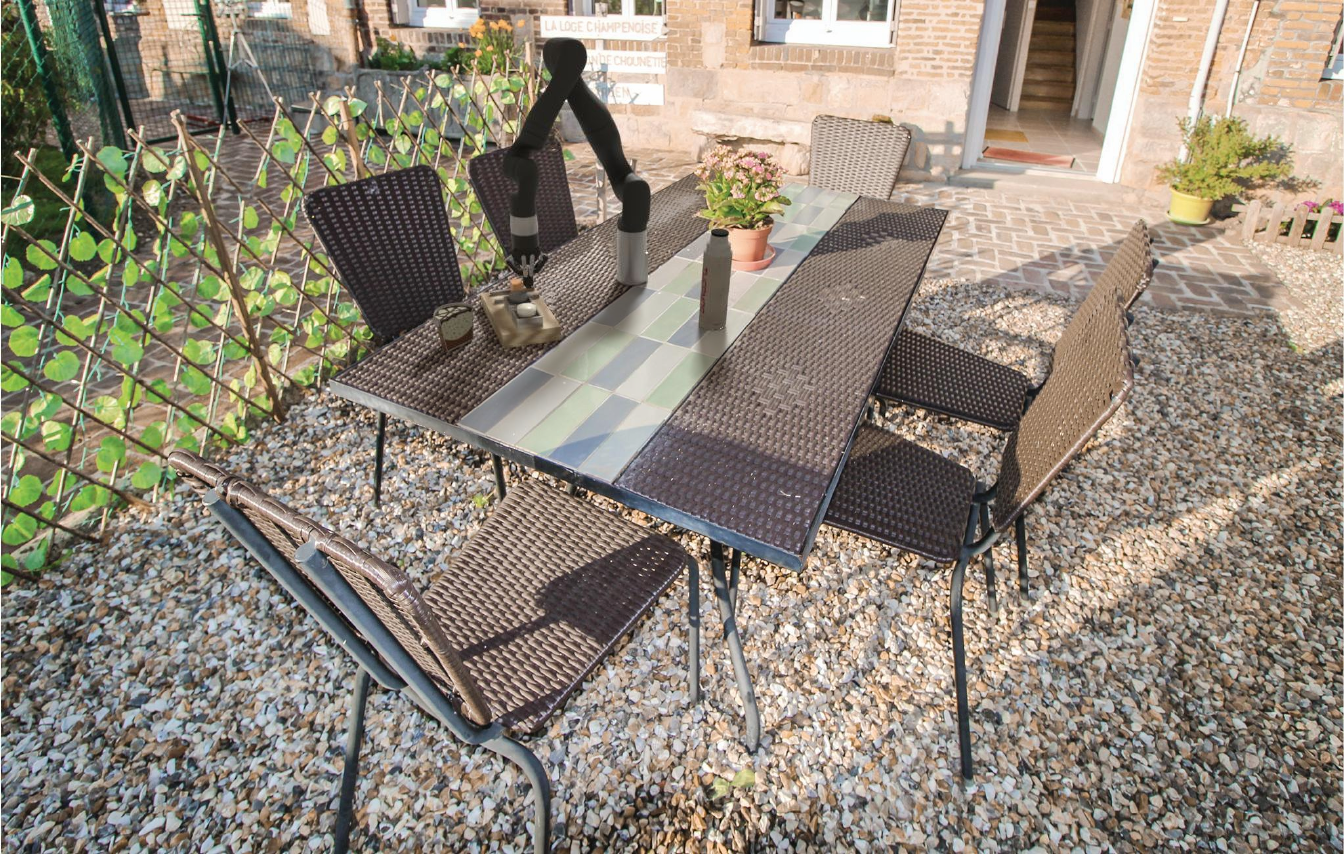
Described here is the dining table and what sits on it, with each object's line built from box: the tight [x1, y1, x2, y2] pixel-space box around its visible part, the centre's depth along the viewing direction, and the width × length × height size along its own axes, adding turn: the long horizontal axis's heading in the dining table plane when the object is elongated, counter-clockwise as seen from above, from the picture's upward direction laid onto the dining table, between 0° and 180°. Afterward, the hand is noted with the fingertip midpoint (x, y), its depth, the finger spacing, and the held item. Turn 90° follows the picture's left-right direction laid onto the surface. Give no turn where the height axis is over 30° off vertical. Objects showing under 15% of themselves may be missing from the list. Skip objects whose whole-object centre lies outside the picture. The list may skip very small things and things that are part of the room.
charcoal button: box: [509, 290, 528, 304], centre depth 207 cm, size 5×5×2 cm
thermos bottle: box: [698, 227, 733, 330], centre depth 208 cm, size 8×8×28 cm
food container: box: [432, 302, 476, 353], centre depth 197 cm, size 12×6×10 cm, turn 145°
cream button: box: [517, 303, 536, 317], centre depth 201 cm, size 5×5×2 cm
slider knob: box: [509, 278, 525, 292], centre depth 215 cm, size 3×4×4 cm
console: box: [480, 285, 562, 349], centre depth 210 cm, size 16×28×7 cm, turn 24°
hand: (528, 287), depth 217 cm, fingers closed
